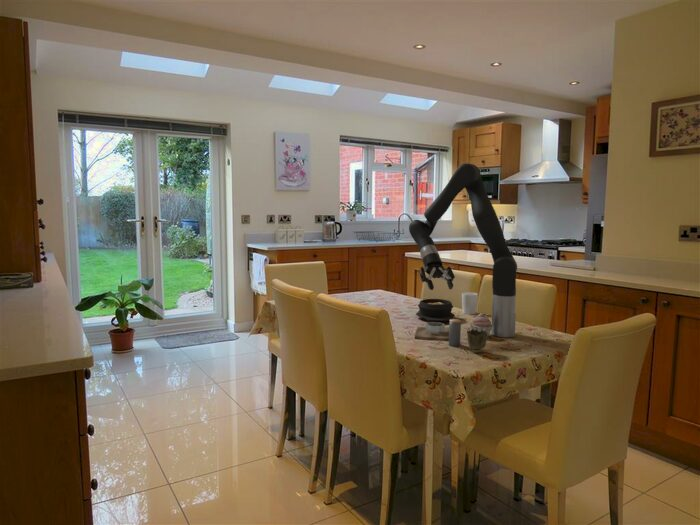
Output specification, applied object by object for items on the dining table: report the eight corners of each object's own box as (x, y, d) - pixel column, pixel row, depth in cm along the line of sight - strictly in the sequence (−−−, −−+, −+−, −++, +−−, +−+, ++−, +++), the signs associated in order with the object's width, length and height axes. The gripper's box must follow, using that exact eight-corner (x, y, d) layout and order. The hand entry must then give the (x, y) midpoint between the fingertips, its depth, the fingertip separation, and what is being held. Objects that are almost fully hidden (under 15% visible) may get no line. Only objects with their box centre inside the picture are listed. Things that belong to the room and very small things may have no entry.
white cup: (458, 312, 248) (458, 293, 247) (470, 310, 252) (471, 291, 250) (468, 315, 241) (468, 295, 240) (480, 313, 244) (481, 294, 243)
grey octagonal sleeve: (444, 330, 207) (444, 322, 207) (444, 335, 200) (444, 327, 200) (426, 329, 209) (426, 321, 209) (425, 334, 202) (425, 326, 201)
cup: (464, 353, 178) (464, 332, 177) (469, 348, 185) (469, 328, 184) (484, 356, 175) (485, 335, 174) (488, 351, 181) (489, 330, 180)
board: (454, 331, 211) (454, 328, 211) (454, 340, 195) (454, 338, 195) (417, 329, 214) (417, 326, 214) (414, 338, 198) (414, 336, 198)
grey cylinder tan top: (460, 343, 191) (460, 319, 190) (460, 347, 187) (461, 321, 186) (448, 343, 192) (449, 318, 191) (448, 346, 188) (449, 321, 186)
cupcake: (482, 340, 196) (483, 316, 195) (465, 335, 204) (465, 312, 203) (497, 336, 201) (498, 313, 200) (480, 332, 209) (480, 309, 208)
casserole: (462, 324, 223) (462, 306, 222) (422, 325, 222) (423, 307, 221) (446, 312, 248) (446, 296, 247) (410, 313, 246) (411, 297, 245)
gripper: (418, 252, 202) (429, 283, 193) (448, 252, 206) (461, 282, 197) (412, 263, 208) (423, 294, 199) (442, 262, 212) (454, 293, 203)
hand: (441, 288), depth 198 cm, fingers open, 8 cm apart
